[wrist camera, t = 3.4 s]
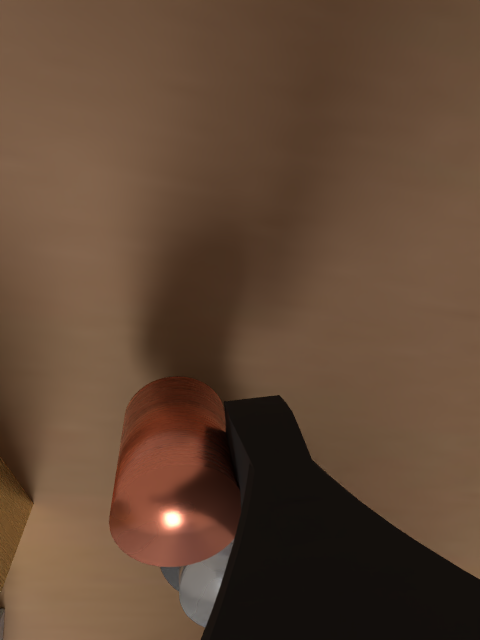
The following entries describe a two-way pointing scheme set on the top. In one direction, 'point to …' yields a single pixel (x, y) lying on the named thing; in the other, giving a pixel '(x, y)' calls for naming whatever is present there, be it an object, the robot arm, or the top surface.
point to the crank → (177, 488)
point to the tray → (1, 623)
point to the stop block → (11, 518)
